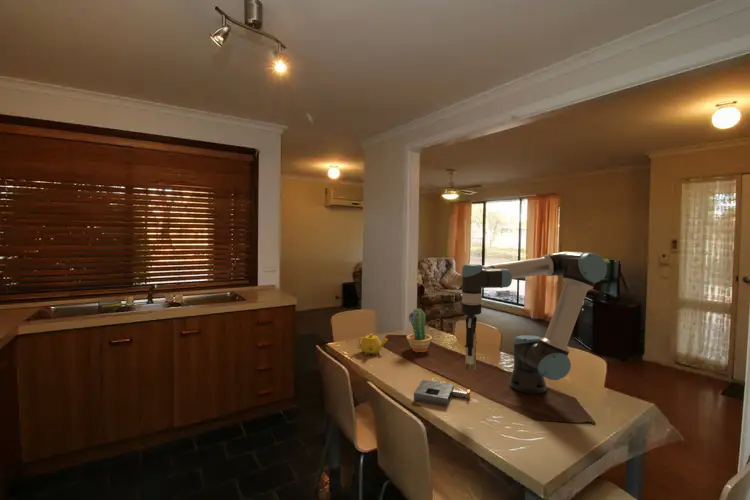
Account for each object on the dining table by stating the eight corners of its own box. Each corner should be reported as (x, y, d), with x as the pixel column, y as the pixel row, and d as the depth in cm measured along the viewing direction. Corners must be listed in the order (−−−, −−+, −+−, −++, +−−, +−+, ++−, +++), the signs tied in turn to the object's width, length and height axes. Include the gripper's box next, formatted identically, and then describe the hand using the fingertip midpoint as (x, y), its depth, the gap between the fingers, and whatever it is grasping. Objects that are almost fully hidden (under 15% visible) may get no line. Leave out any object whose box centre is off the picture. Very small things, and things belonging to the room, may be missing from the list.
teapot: (371, 359, 194) (370, 339, 194) (355, 353, 204) (354, 334, 203) (388, 352, 204) (388, 334, 204) (372, 347, 214) (372, 329, 213)
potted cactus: (404, 346, 215) (403, 306, 214) (428, 345, 217) (428, 305, 215) (409, 355, 200) (409, 312, 198) (435, 353, 201) (435, 311, 200)
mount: (453, 392, 153) (453, 384, 152) (447, 407, 140) (447, 398, 140) (422, 387, 158) (422, 379, 158) (413, 401, 145) (413, 392, 145)
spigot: (476, 367, 139) (476, 333, 139) (475, 371, 136) (475, 335, 135) (466, 366, 141) (466, 332, 140) (464, 369, 137) (465, 334, 136)
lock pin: (470, 396, 148) (470, 389, 148) (469, 399, 146) (469, 392, 146) (439, 391, 154) (439, 384, 153) (437, 394, 151) (437, 387, 151)
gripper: (464, 298, 146) (463, 353, 147) (458, 306, 130) (457, 367, 132) (483, 300, 144) (482, 355, 145) (479, 308, 128) (478, 370, 129)
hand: (470, 361), depth 138 cm, fingers closed on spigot, 4 cm apart
